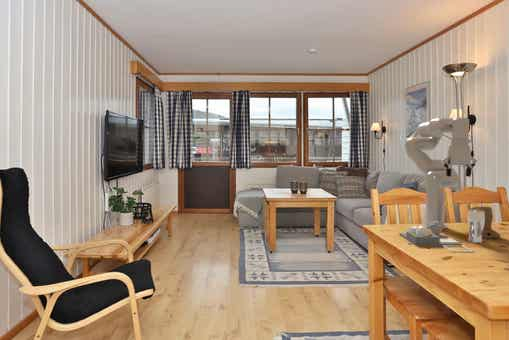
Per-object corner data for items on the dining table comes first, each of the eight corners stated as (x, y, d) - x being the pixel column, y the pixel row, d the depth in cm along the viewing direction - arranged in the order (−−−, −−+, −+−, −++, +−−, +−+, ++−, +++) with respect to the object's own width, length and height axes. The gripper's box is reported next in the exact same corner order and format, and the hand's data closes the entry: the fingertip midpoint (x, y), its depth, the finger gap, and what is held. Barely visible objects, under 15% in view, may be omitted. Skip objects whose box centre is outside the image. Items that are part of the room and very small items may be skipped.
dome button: (413, 236, 183) (413, 224, 182) (426, 236, 183) (426, 224, 182) (418, 240, 177) (419, 227, 176) (431, 240, 177) (432, 227, 176)
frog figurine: (426, 234, 189) (427, 221, 189) (431, 232, 194) (432, 219, 194) (439, 236, 185) (440, 222, 185) (444, 234, 190) (445, 220, 190)
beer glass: (481, 240, 184) (482, 209, 183) (485, 243, 177) (487, 212, 176) (465, 239, 186) (466, 209, 184) (469, 242, 179) (470, 211, 178)
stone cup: (468, 231, 202) (469, 203, 201) (494, 233, 198) (495, 205, 197) (473, 238, 188) (474, 208, 187) (501, 240, 184) (502, 209, 183)
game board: (399, 234, 195) (399, 224, 195) (440, 234, 194) (441, 225, 194) (424, 251, 164) (425, 240, 164) (474, 252, 164) (474, 240, 163)
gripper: (473, 142, 193) (471, 175, 195) (438, 142, 194) (437, 175, 195) (481, 142, 186) (480, 177, 187) (446, 142, 186) (444, 177, 188)
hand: (458, 176), depth 191 cm, fingers open, 9 cm apart
